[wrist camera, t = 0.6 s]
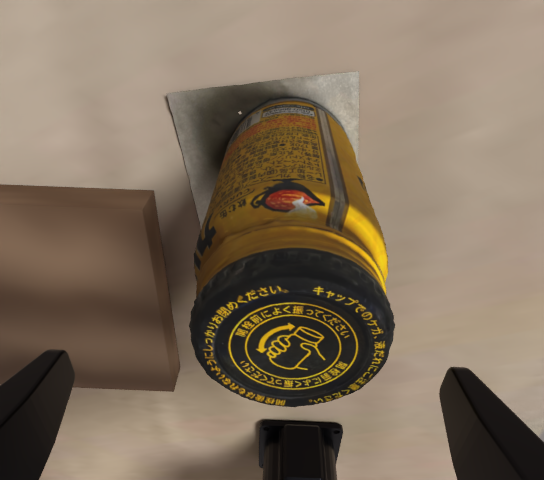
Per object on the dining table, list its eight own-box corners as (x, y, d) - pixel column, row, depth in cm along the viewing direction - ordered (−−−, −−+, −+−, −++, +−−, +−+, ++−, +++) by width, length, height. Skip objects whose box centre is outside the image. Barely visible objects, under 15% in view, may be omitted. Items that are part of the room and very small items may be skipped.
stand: (180, 367, 29) (173, 391, 27) (12, 360, 29) (-5, 383, 28) (153, 190, 21) (142, 210, 20) (-77, 181, 21) (-108, 200, 20)
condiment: (357, 214, 22) (417, 426, 12) (201, 227, 22) (134, 437, 13) (358, 69, 18) (450, 206, 8) (167, 91, 18) (29, 241, 9)
